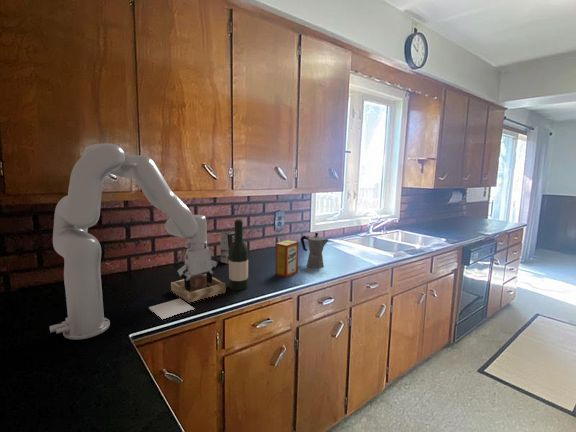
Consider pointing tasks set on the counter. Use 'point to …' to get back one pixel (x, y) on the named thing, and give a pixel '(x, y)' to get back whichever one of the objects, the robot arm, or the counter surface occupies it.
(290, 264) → the baking soda box
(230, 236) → the coffee box
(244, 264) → the wine bottle
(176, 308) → the stone pad
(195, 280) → the walnut block
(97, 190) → the robot arm
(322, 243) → the coffeepot
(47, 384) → the counter surface
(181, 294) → the oak frame
